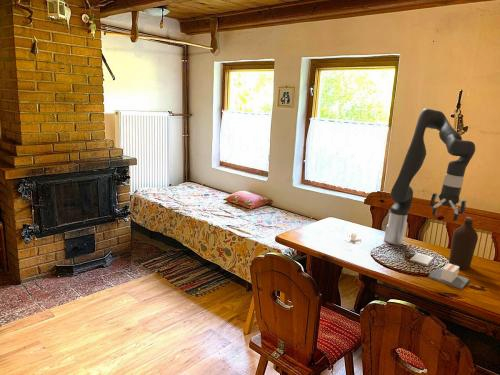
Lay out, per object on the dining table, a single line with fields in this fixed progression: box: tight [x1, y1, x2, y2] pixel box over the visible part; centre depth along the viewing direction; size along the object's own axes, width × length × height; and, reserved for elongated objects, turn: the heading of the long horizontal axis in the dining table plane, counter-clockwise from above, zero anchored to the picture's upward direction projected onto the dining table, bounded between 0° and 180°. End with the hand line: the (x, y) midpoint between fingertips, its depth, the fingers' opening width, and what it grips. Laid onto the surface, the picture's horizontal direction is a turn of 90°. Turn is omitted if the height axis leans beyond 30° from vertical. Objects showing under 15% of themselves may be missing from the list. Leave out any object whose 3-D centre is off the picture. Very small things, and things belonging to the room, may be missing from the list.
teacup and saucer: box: [345, 233, 362, 244], centre depth 208 cm, size 9×8×4 cm
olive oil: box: [448, 216, 479, 270], centre depth 183 cm, size 11×11×25 cm
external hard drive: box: [409, 252, 434, 267], centre depth 189 cm, size 2×8×12 cm
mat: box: [428, 268, 470, 290], centre depth 169 cm, size 14×12×1 cm
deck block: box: [441, 262, 460, 282], centre depth 168 cm, size 9×4×5 cm, turn 136°
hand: (444, 218), depth 171 cm, fingers open, 8 cm apart
